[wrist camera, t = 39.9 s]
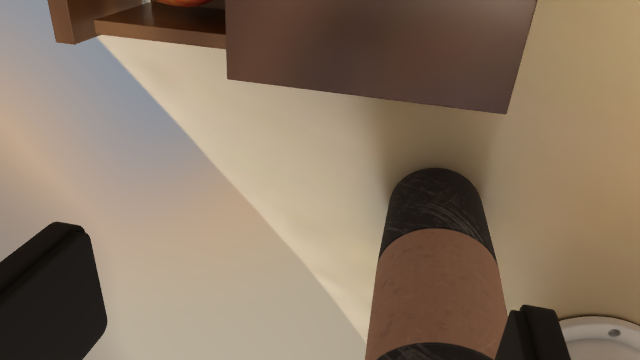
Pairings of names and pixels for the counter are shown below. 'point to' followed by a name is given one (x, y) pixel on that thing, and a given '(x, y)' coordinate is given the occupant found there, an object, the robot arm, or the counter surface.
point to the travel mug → (436, 275)
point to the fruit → (184, 2)
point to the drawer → (139, 21)
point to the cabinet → (383, 48)
